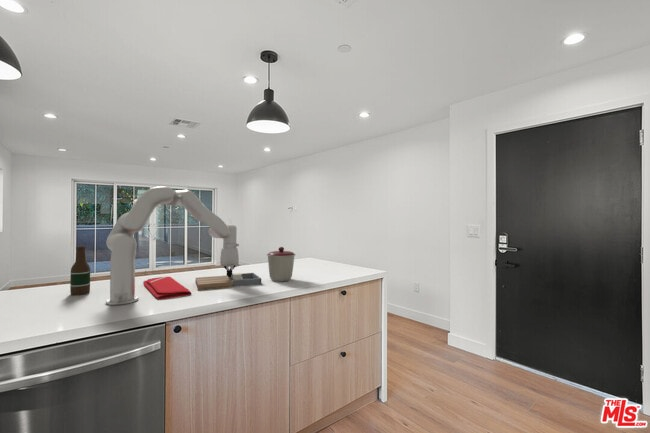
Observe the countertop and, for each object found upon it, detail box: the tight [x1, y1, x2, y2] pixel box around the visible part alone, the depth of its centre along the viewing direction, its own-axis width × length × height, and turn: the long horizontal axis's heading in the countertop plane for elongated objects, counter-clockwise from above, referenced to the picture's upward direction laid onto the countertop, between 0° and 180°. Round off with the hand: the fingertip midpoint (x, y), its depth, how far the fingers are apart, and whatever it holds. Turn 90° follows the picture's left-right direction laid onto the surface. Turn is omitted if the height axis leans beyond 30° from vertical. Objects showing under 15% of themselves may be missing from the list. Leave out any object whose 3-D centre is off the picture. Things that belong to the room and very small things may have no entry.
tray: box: [229, 272, 262, 288], centre depth 184 cm, size 20×16×4 cm
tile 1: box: [232, 272, 243, 279], centre depth 182 cm, size 5×5×2 cm
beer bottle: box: [69, 245, 91, 296], centre depth 153 cm, size 8×8×24 cm
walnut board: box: [195, 274, 233, 291], centre depth 176 cm, size 20×18×3 cm
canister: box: [266, 246, 296, 283], centre depth 191 cm, size 18×18×21 cm
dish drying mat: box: [143, 276, 192, 300], centre depth 164 cm, size 16×41×4 cm, turn 39°
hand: (229, 276), depth 180 cm, fingers closed
